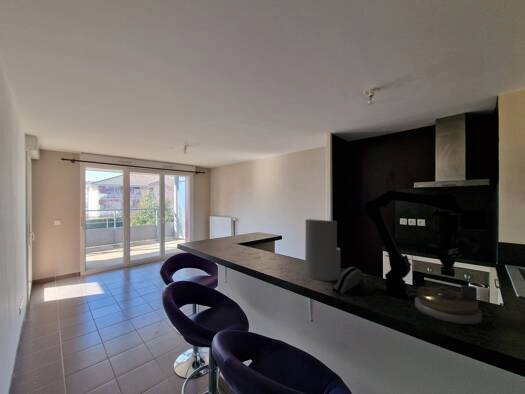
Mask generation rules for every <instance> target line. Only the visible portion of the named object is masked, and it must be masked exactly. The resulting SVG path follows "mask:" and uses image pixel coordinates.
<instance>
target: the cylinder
mask: <svg viewBox="0 0 525 394" xmlns="http://www.w3.org/2000/svg"><path fill="white" fill-rule="evenodd" d="M304 242H305V254H304V255H305V257H304V258H305V259H304V261H305V264H304V265H305V268H304V269H305V270H304V274H305V276H306V277H307V278H309V279H313V280H317V281H322V282H327V281H328V282H330V281H338V279H339V277H340V275H341V248H340V247H338V220H326V219H325V220H323V219H313V218H311V219H310V218H309V219H305V241H304Z"/></svg>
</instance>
